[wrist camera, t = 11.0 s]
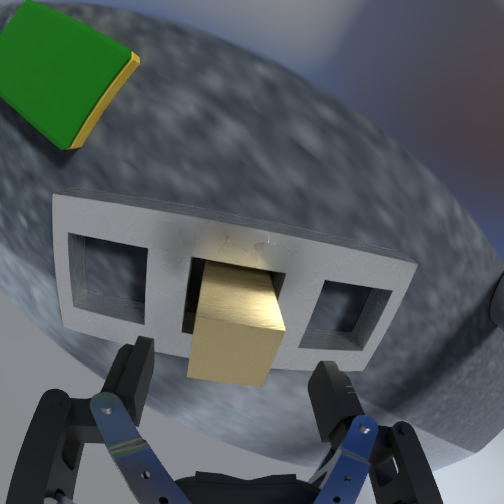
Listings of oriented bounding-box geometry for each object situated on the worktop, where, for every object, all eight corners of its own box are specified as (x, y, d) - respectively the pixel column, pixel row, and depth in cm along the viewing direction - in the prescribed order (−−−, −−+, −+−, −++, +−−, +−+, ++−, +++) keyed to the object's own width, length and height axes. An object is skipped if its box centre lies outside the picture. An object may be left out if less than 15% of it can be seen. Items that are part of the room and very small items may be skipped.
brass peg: (266, 265, 18) (285, 330, 12) (251, 313, 20) (262, 386, 13) (207, 253, 18) (196, 317, 11) (197, 304, 19) (186, 376, 13)
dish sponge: (40, 5, 9) (25, -3, 7) (145, 61, 13) (133, 51, 11) (-6, 76, 11) (-23, 75, 8) (82, 150, 15) (63, 153, 13)
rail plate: (400, 250, 19) (417, 264, 17) (352, 352, 22) (362, 370, 20) (72, 186, 15) (52, 193, 13) (76, 309, 19) (63, 327, 16)
